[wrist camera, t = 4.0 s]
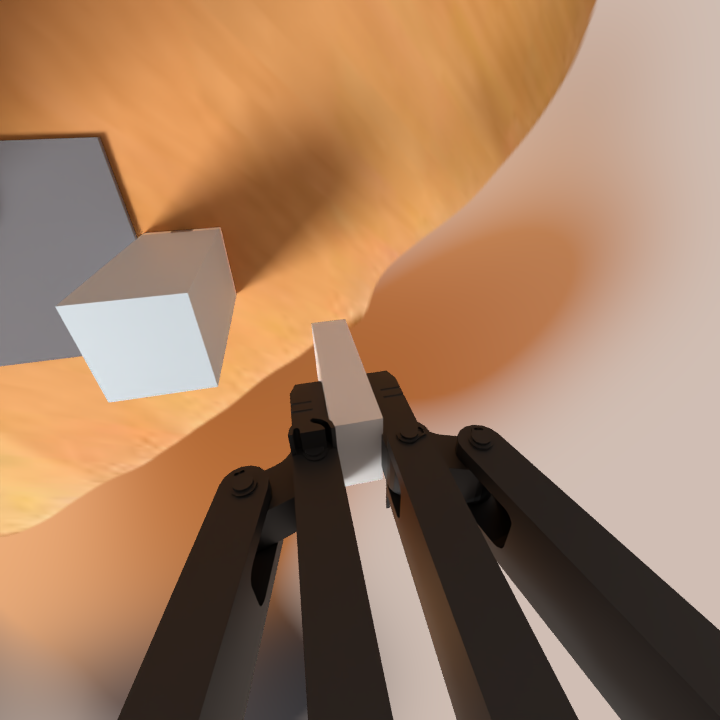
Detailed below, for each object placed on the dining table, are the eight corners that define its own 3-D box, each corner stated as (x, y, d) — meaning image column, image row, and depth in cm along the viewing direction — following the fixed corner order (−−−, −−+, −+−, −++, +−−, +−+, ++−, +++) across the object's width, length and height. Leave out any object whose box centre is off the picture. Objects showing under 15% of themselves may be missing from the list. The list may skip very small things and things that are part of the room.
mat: (-170, 146, 19) (-178, 147, 18) (99, 137, 21) (97, 137, 20) (-8, 364, 26) (-12, 367, 26) (176, 341, 28) (174, 344, 28)
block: (143, 232, 24) (55, 306, 14) (220, 227, 25) (187, 292, 15) (168, 301, 27) (108, 402, 17) (236, 293, 27) (217, 386, 18)
